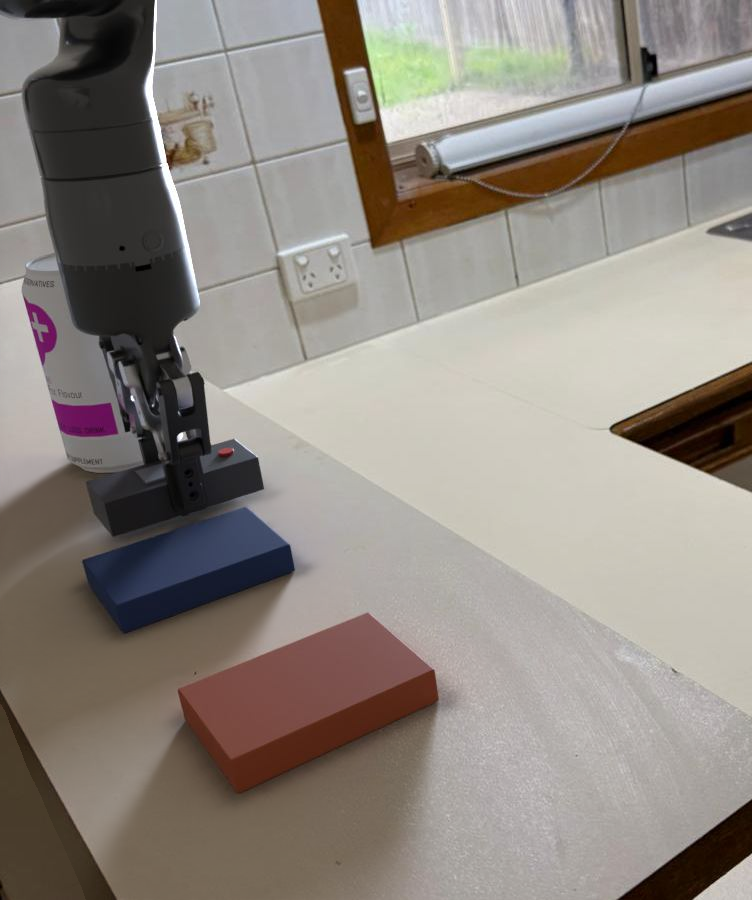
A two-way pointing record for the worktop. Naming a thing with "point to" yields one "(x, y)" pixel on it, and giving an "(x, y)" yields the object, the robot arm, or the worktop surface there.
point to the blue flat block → (187, 568)
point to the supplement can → (77, 377)
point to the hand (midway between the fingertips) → (179, 497)
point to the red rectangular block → (306, 699)
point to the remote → (146, 493)
